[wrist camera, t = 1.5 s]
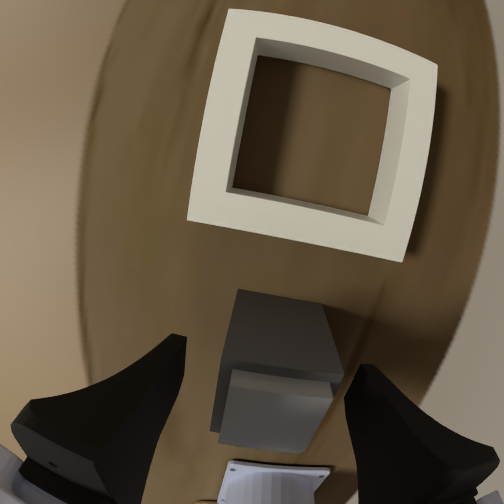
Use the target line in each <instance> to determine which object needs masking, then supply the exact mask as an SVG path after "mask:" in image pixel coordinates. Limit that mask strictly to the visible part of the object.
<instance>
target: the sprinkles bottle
mask: <svg viewBox="0 0 504 504" xmlns="http://www.w3.org/2000/svg"><path fill="white" fill-rule="evenodd" d="M194 504H218V503H217V501H199V502H196V503H194Z"/></svg>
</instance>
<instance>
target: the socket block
mask: <svg viewBox="0 0 504 504" xmlns="http://www.w3.org/2000/svg"><path fill="white" fill-rule="evenodd" d="M258 55H261V56H267V57H273V58H279V59H285V60H290V61H295V62H300V63H305V64H309V65H313V66H318V67H322V68H326V69H330V70H334V71H337V72H341V73H344V74H348V75H351V76H355V77H358V78H361V79H364V80H367V81H370V82H373V83H376V84H379V85H382V86H385V87H388V88H390V89H391V95H390V102H389V110H388V117H387V123H386V129H385V136H384V141H383V147H382V153H381V158H380V163H379V168H378V173H377V178H376V183H375V187H374V192H373V196H372V200H371V205H370V209H369V213H368V216H366V215H362V214H357V213H353V212H349V211H345V210H341V209H336V208H332V207H328V206H323V205H319V204H314V203H309V202H305V201H300V200H295V199H290V198H285V197H280V196H275V195H270V194H265V193H260V192H254V191H249V190H243V189H238V188H232V186H233V181H234V175H235V169H236V164H237V158H238V153H239V147H240V142H241V137H242V131H243V126H244V121H245V116H246V111H247V106H248V100H249V95H250V91H251V86H252V81H253V76H254V71H255V66H256V62H257V57H258ZM436 85H437V64H435V63H433V62H431V61H429V60H426V59H424V58H422V57H420V56H418V55H416V54H413V53H411V52H409V51H406V50H404V49H402V48H399V47H397V46H394V45H392V44H389V43H386V42H384V41H381V40H378V39H375V38H372V37H369V36H366V35H363V34H360V33H357V32H354V31H351V30H347V29H344V28H340V27H337V26H333V25H329V24H325V23H321V22H317V21H312V20H307V19H303V18H298V17H292V16H287V15H281V14H274V13H267V12H260V11H251V10H240V9H229V10H228V14H227V18H226V21H225V25H224V29H223V33H222V37H221V41H220V45H219V49H218V53H217V57H216V61H215V65H214V70H213V74H212V79H211V83H210V88H209V93H208V97H207V102H206V107H205V112H204V117H203V122H202V128H201V133H200V139H199V144H198V150H197V156H196V162H195V168H194V174H193V181H192V187H191V194H190V201H189V208H188V216H187V220H189V221H195V222H200V223H206V224H211V225H217V226H222V227H228V228H233V229H238V230H244V231H249V232H254V233H260V234H265V235H270V236H275V237H280V238H286V239H291V240H296V241H301V242H306V243H311V244H316V245H321V246H326V247H331V248H336V249H341V250H345V251H350V252H355V253H360V254H365V255H369V256H374V257H379V258H384V259H388V260H393V261H398V262H402V261H403V258H404V255H405V251H406V248H407V244H408V241H409V238H410V234H411V230H412V227H413V223H414V219H415V215H416V211H417V207H418V203H419V198H420V194H421V189H422V185H423V180H424V175H425V170H426V164H427V159H428V153H429V147H430V140H431V133H432V126H433V118H434V109H435V98H436Z"/></svg>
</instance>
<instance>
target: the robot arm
mask: <svg viewBox="0 0 504 504" xmlns="http://www.w3.org/2000/svg"><path fill="white" fill-rule="evenodd" d="M186 343H187V337H185V336H181V335H177V334H173V333H172V334H170V335H169V336H168V337H167V338H165V339H164V340H163V341H162V342H161V343H160V344H158V345H157V346H156V347H155V348H153V349H152V350H151V351H150V352H148V353H147V354H146V355H144V356H143V357H142V358H140V359H139V360H137V361H136V362H134V363H133V364H131V365H130V366H128V367H127V368H125V369H124V370H122V371H120V372H119V373H117V374H115V375H113V376H111V377H109V378H107V379H105V380H103V381H101V382H99V383H96V384H94V385H91V386H89V387H86V388H83V389H80V390H77V391H74V392H70V393H67V394H62V395H58V396H54V397H47V398H40V399H33V400H30V401H29V402H28V403H27V404H26V406H25V407H24V408H23V409H22V410H21V412H20V413H19V415H18V416H17V417H16V418H15V420H14V421H13V422H12V424H11V430H12V433H13V435H14V437H15V439H16V440H17V442H18V443H19V444H20V446H21V448H22V449H23V451H24V452H25V454H26V455H27V458H26V460H25V461H24V462H23V461H22V460H21V459H20V458H19V457H18V456H16V455H15V454H14V453H12V452H11V451H9V450H8V449H7V448H5V447H4V446H3V445H1V444H0V504H141V500H142V496H143V492H144V488H145V484H146V480H147V476H148V473H149V469H150V465H151V462H152V458H153V455H154V452H155V448H156V445H157V442H158V439H159V437H160V434H161V432H162V430H163V428H164V425H165V423H166V421H167V419H168V416H169V414H170V412H171V410H172V407H173V405H174V403H175V401H176V398H177V396H178V393H179V390H180V387H181V383H182V380H183V377H184V370H185V355H186ZM344 403H345V414H346V420H347V425H348V429H349V433H350V437H351V441H352V446H353V450H354V454H355V459H356V465H357V475H358V497H359V504H504V503H503V501H502V499H501V496H500V494H499V492H498V491H494V492H492V493H490V494H488V495H486V496H484V497H482V498H480V499H478V500H477V501H475V498H474V496H476V495H477V494H478V491H477V489H476V487H477V486H478V485H479V484H481V483H482V482H483V481H484V480H485V479H486V478H487V477H488V476H489V475H490V474H491V473H492V472H493V471H494V470H495V469H496V468H497V467H498V465H499V462H500V460H499V458H498V455H497V454H496V452H495V450H494V448H493V447H491V446H488V445H484V444H481V443H478V442H475V441H473V440H470V439H468V438H466V437H463V436H461V435H459V434H457V433H455V432H453V431H452V430H450V429H448V428H447V427H445V426H443V425H441V424H440V423H438V422H437V421H435V420H434V419H433V418H431V417H430V416H429V415H427V414H426V413H425V412H423V411H422V410H421V409H420V408H419V407H417V406H416V405H415V404H414V403H413V402H412V401H411V400H409V399H408V398H407V397H406V396H405V395H404V394H403V393H402V392H401V391H400V390H399V389H398V388H397V387H396V386H395V385H394V384H393V383H392V382H391V381H390V380H389V379H388V378H387V377H386V376H385V375H384V374H383V373H382V372H381V371H380V370H379V369H378V368H377V367H375V366H374V365H371V364H360V366H359V368H358V371H357V373H356V375H355V377H354V379H353V381H352V383H351V385H350V387H349V389H348V391H347V393H346V395H345V397H344ZM329 474H330V469H329V468H327V467H293V466H278V465H267V464H258V463H249V462H242V461H234V460H233V461H229V462H228V465H227V468H226V472H225V476H224V479H223V483H222V486H221V489H220V493H219V496H218V500H217V503H218V504H315V501H314V492H315V490H316V489H317V488H318V487H319V486H320V485H321V483H322V482H323V481H324V480H325V479H326V477H327V476H328V475H329Z"/></svg>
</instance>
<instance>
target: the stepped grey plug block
mask: <svg viewBox="0 0 504 504" xmlns="http://www.w3.org/2000/svg"><path fill="white" fill-rule="evenodd" d="M344 375H345V374H344V371H343V367H342V364H341V361H340V358H339V355H338V352H337V348H336V345H335V342H334V339H333V336H332V333H331V330H330V327H329V324H328V321H327V318H326V315H325V312H324V309H323V306H322V304H320V303H314V302H308V301H302V300H296V299H290V298H285V297H279V296H273V295H268V294H262V293H257V292H252V291H246V290H241V289H238V291H237V295H236V299H235V303H234V308H233V312H232V316H231V320H230V324H229V328H228V332H227V337H226V341H225V345H224V349H223V353H222V358H221V364H220V370H219V376H218V382H217V388H216V395H215V401H214V407H213V413H212V420H211V426H210V431H212V432H217V433H220V435H219V441H218V443H221V444H227V445H233V446H240V447H246V448H254V449H262V450H271V451H282V452H295V453H304V451H305V450H306V448H307V446H308V444H309V443H310V441H311V439H312V438H313V436H314V434H315V432H316V430H317V429H318V427H319V425H320V423H321V421H322V419H323V417H324V416H325V414H326V412H327V410H328V408H329V406H330V404H331V402H332V400H333V398H334V396H335V394H336V391H337V389H338V387H339V385H340V383H341V381H342V379H343V377H344Z"/></svg>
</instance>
